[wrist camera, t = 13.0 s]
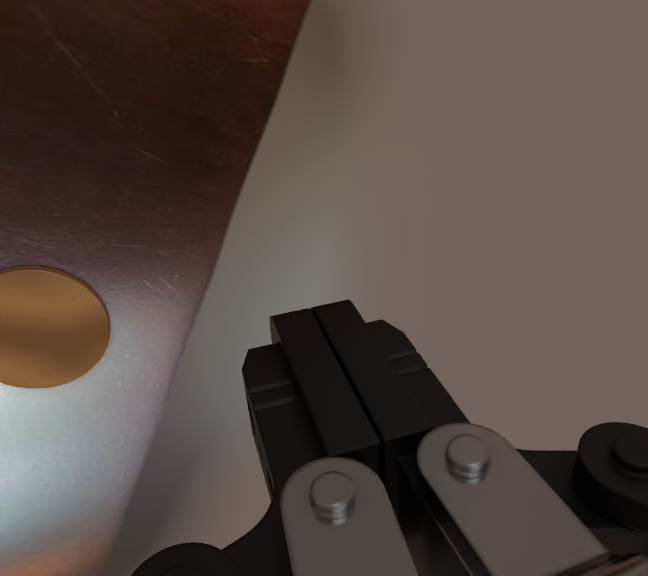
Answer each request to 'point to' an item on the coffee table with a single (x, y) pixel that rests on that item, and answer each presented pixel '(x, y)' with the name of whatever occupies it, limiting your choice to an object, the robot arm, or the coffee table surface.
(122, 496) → the coffee table surface
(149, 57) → the coffee table surface
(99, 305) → the coaster
